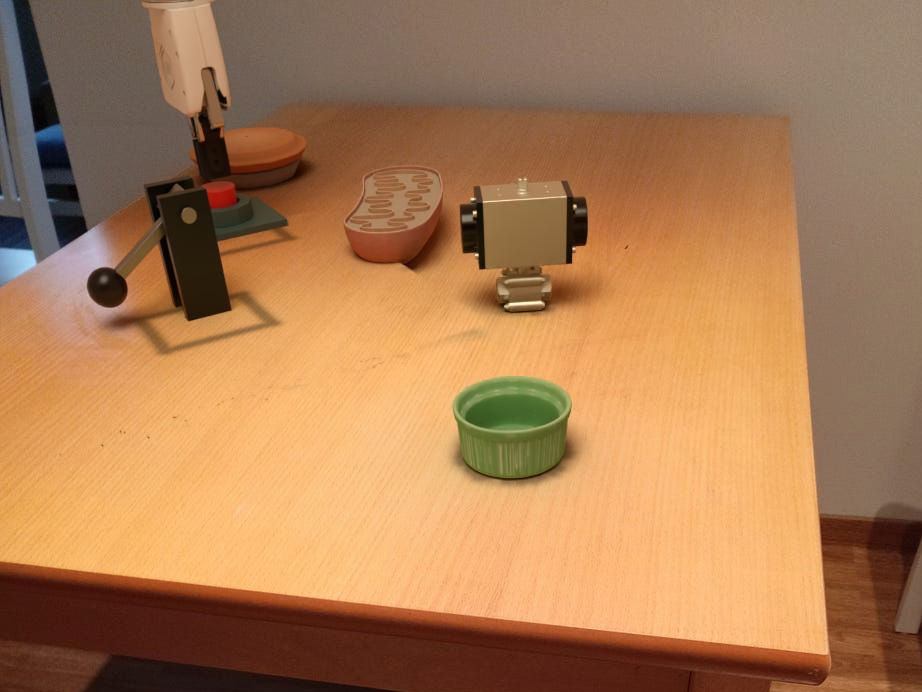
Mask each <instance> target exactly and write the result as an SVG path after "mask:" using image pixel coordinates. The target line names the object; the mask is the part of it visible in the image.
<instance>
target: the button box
mask: <svg viewBox="0 0 922 692" xmlns="http://www.w3.org/2000/svg"><path fill="white" fill-rule="evenodd" d="M236 196H237V201H238V203H237V204H235V205H233V206H229V207H224V208H213V209H211V213H212V218H213V223H214V228H215V233H216V237H217V242H223V241H227V240H231V239H236V238H240V237H245V236H248V235H254V234H259V233H262V232H266V231H271V230H275V229H279V228H285V227H288V226H289V222H288V218H287V217H285V216H284V215H282V214H281V213H280V212H278V211H277V210H276V209H274V208H273V207H272V206H271V205H269V204H267V203H266V202H265V201H264V200H261V199H260V198H259V197H258V196H252V197H250V196H249V195H247V194H246V193H242V192H237V191H236Z"/></svg>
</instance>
